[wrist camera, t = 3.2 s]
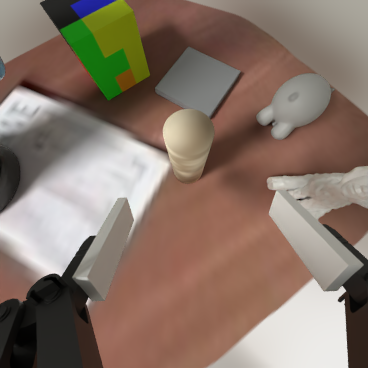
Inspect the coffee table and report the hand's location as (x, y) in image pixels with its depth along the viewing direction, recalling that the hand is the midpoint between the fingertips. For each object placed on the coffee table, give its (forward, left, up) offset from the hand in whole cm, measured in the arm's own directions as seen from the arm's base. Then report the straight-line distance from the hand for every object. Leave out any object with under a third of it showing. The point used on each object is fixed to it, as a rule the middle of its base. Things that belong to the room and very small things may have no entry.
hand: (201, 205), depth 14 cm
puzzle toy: (-29, +15, -12) cm, 35 cm away
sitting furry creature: (+13, +11, -12) cm, 21 cm away
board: (-13, +21, -11) cm, 27 cm away
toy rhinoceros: (+5, +24, -12) cm, 27 cm away
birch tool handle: (-5, +5, -11) cm, 13 cm away
